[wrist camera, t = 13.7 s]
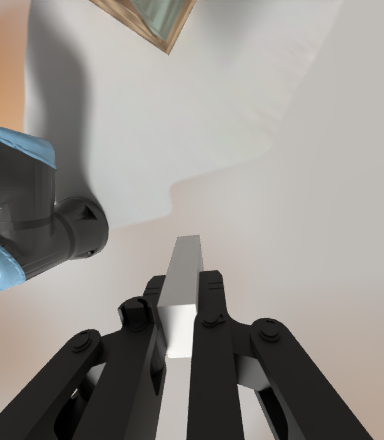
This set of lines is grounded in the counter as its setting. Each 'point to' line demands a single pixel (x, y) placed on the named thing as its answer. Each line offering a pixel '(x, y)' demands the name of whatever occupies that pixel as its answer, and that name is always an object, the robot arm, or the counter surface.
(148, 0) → the lid
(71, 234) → the robot arm
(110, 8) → the chest
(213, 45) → the counter surface
